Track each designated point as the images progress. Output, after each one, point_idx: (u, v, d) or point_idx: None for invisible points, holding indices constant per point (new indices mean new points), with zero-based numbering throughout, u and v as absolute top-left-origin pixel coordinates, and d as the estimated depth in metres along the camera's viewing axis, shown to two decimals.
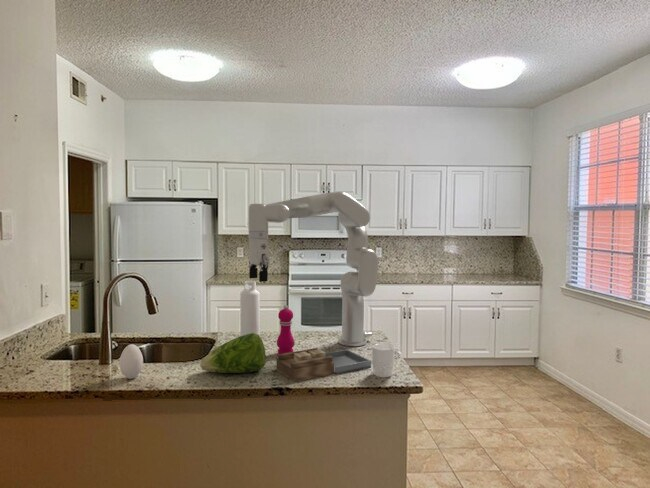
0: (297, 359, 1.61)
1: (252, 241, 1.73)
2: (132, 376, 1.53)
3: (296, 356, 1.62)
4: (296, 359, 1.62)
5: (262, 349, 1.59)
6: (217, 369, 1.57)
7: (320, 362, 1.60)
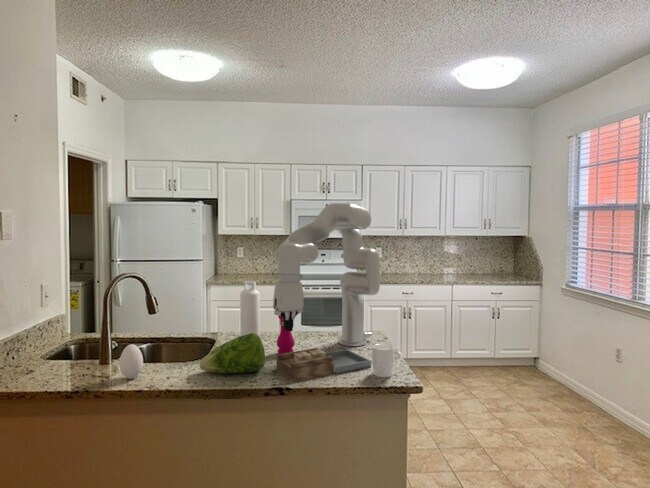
0: (297, 359, 1.61)
1: (292, 285, 1.56)
2: (132, 376, 1.53)
3: (296, 356, 1.62)
4: (296, 359, 1.62)
5: (261, 349, 1.59)
6: (216, 369, 1.57)
7: (320, 362, 1.60)
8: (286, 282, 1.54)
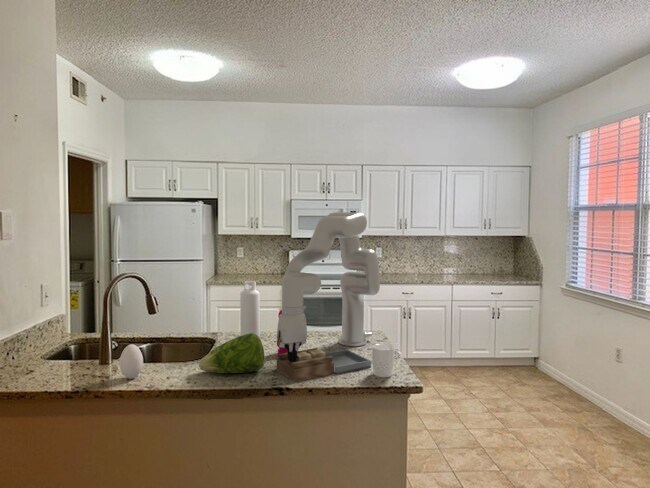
0: (297, 359, 1.61)
1: (296, 317, 1.57)
2: (132, 376, 1.53)
3: None
4: (296, 359, 1.62)
5: (261, 349, 1.59)
6: (216, 369, 1.57)
7: (320, 362, 1.60)
8: (289, 315, 1.56)
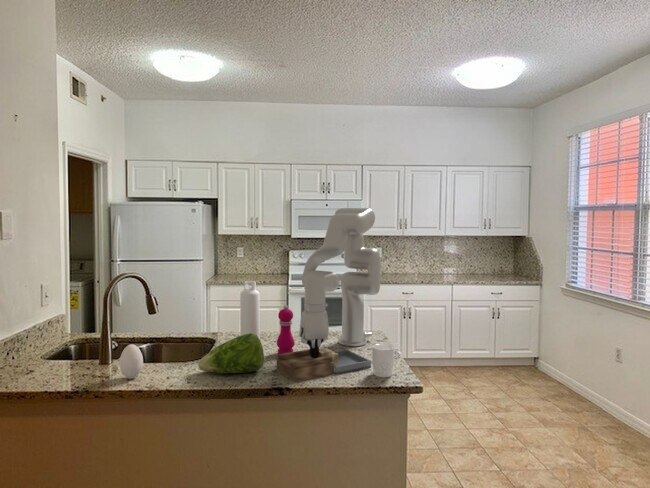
0: (319, 355, 1.66)
1: (318, 314, 1.62)
2: (132, 376, 1.53)
3: None
4: (318, 355, 1.66)
5: (260, 349, 1.59)
6: (215, 369, 1.57)
7: (320, 362, 1.60)
8: (312, 312, 1.60)
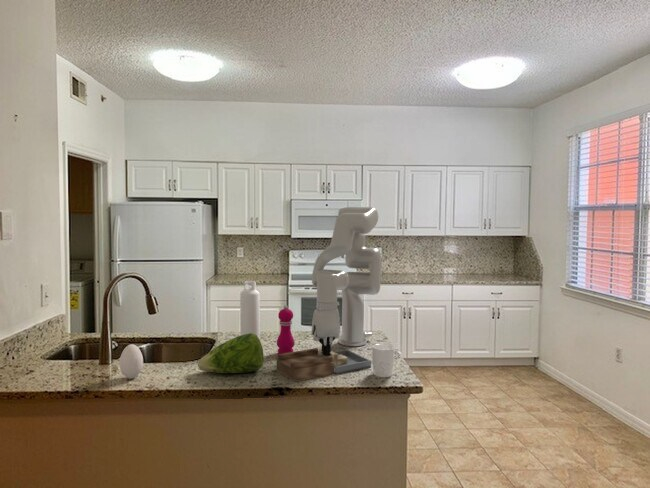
0: (332, 352, 1.68)
1: (330, 313, 1.65)
2: (132, 376, 1.53)
3: (332, 352, 1.70)
4: (330, 352, 1.69)
5: (260, 349, 1.59)
6: (215, 369, 1.57)
7: (320, 362, 1.60)
8: (324, 310, 1.63)
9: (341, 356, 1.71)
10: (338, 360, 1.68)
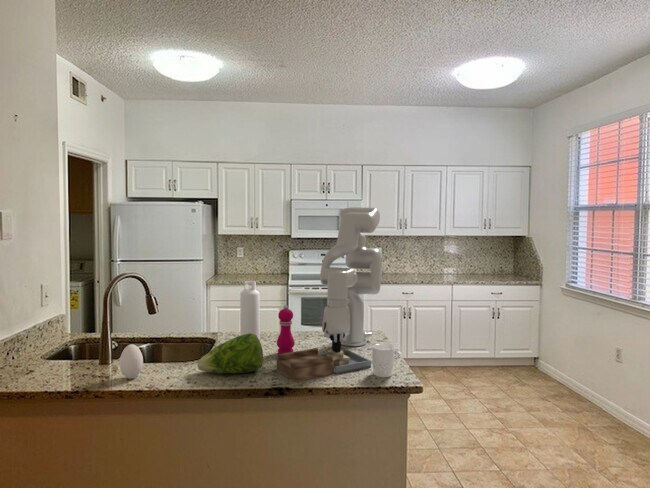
0: None
1: (341, 310, 1.67)
2: (132, 376, 1.53)
3: None
4: None
5: (259, 349, 1.59)
6: (214, 369, 1.57)
7: (320, 362, 1.60)
8: (335, 307, 1.65)
9: (343, 356, 1.72)
10: (340, 360, 1.68)
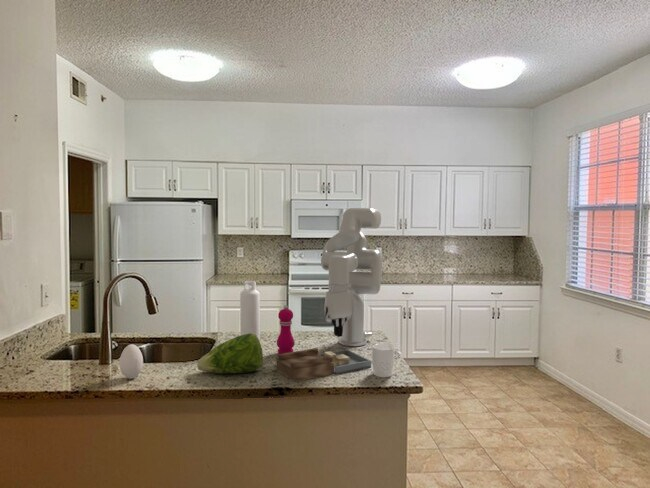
0: (330, 353, 1.68)
1: (342, 294, 1.67)
2: (132, 376, 1.53)
3: (331, 352, 1.69)
4: (328, 353, 1.68)
5: (259, 349, 1.59)
6: (214, 369, 1.57)
7: (320, 362, 1.60)
8: (337, 292, 1.65)
9: (343, 356, 1.72)
10: (340, 360, 1.68)
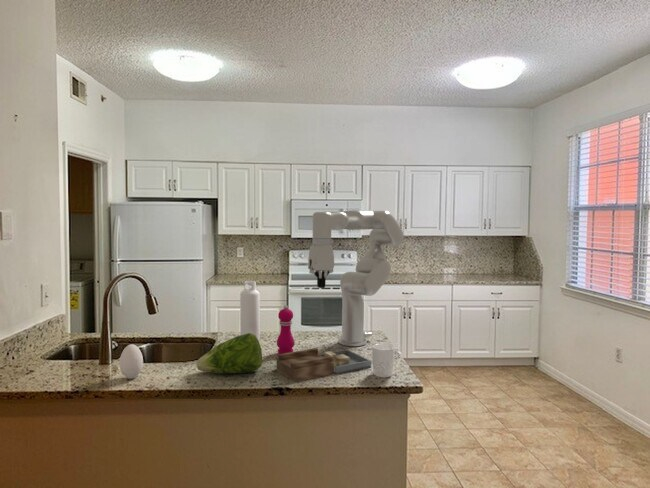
0: (330, 353, 1.68)
1: (325, 248, 1.80)
2: (132, 376, 1.53)
3: (331, 352, 1.69)
4: (328, 353, 1.68)
5: (258, 349, 1.58)
6: (213, 369, 1.57)
7: (320, 362, 1.60)
8: (320, 245, 1.79)
9: (343, 356, 1.72)
10: (340, 360, 1.68)
